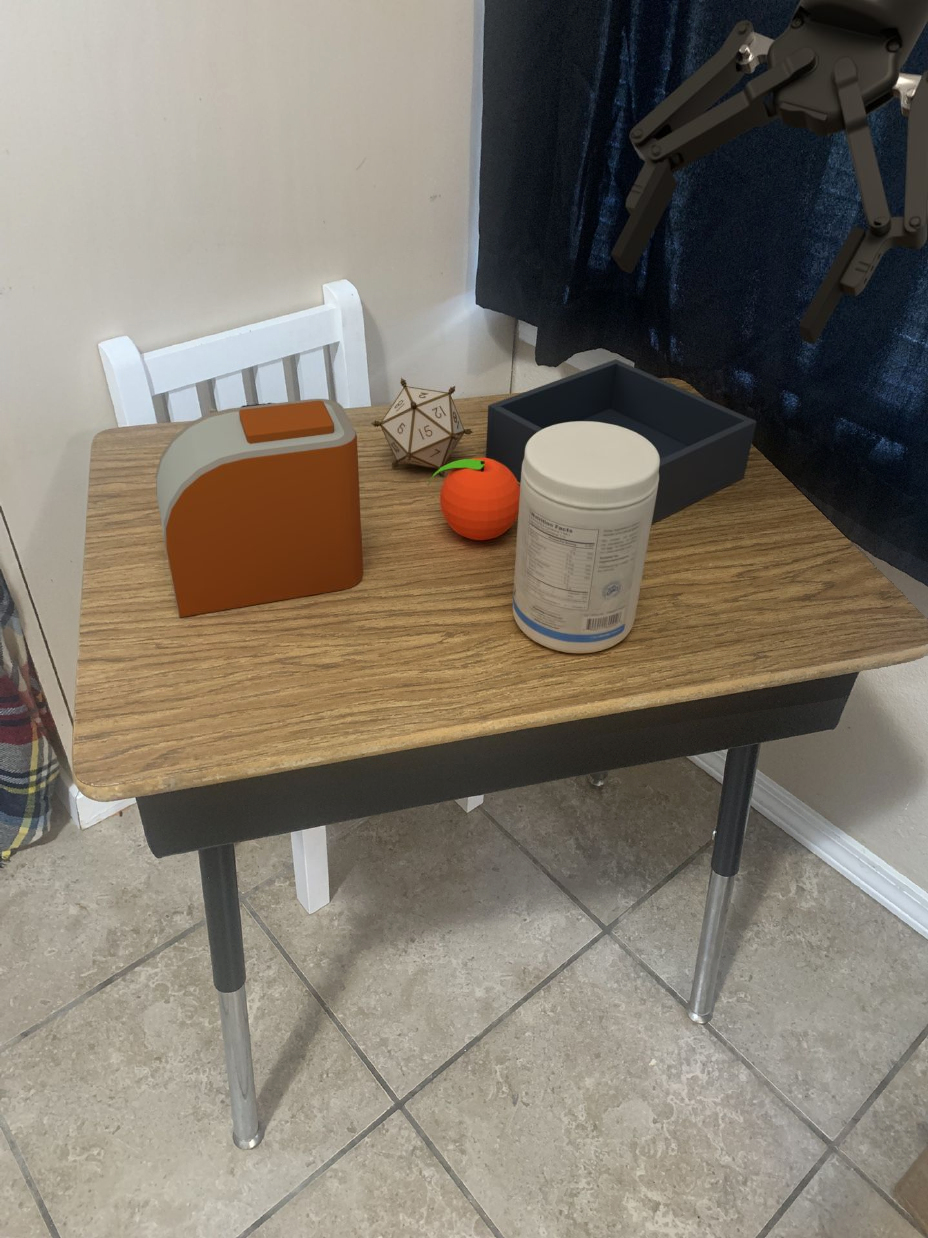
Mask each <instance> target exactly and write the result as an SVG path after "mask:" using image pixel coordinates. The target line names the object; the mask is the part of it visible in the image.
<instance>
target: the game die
mask: <svg viewBox="0 0 928 1238" xmlns="http://www.w3.org/2000/svg"><path fill="white" fill-rule="evenodd" d="M399 384H400V385H401V386H402V387H403V388H402V389H401V391H400V392H399V394H398V395H397V397H396V398H395V400H394V401H393V403H392V404H391V406H390V407H389V409H388V410H387V412H386V413H385V415H384V417H382V419H381V421H379V420H377V421H376V420H374V421H372V422H370V424H371V425H372V426H373V427H377V428H378V427H380V428H381V430H382V433H383V435H384V436H385V437H384V438H385V439H386V441H387V443H388V446H389V448H390V450H391V452H392V454H393V456H394V459H395V460H393V461H392V462H391V469H393V468H397V467H398V466H399V463H402V464H407V465H414V466H418V467H419V466H420V467H425V468H431V469H436V470H439V469H440V468H441V467H443V466H445V465H446V462H447V461H448V460H449V458H450V456H451V454H452V453H453V452H454V450H455V449H456V447H457V446H458V444H459V443H460V441H461V440H462V439H463V436H464V434H465V435H468V436H470V435H471V434H473V433H474V431H473V430H471V428H466V429H465V428H464V425H463V423H462V420H461V417H460V414H459V412H458V410H457V407H456V404H455V402H454V399H453V397H452V394H454V392H456V385H454V386H451V387H449V389H448V392H447V391H442V390H441V391H440V390H434V389H428V388H420V387H414V386H408V384H407V381H406V379H404V378H402V377H400V382H399ZM439 475H440V476H442V477H443V478H446V470H444V471H441V472H439Z"/></svg>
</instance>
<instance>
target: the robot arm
mask: <svg viewBox="0 0 928 1238" xmlns="http://www.w3.org/2000/svg"><path fill="white" fill-rule="evenodd" d="M927 23H928V0H800V1H799V2H798V4H797V7H796V9H795V10H794V13H793V15H792V18H791V20H790V23H789V25H788V27H787V28H786V29H785V30H784V32H783V33H781V34H780V35H779V36H778V37H777V38H775V39H772V38H770V37H768V36H765V35H762V34H761V33H758V32H755V31H754V25H753V24H752V22H751V21H750V20H748V19H744V20H740V21H739V22H737V23H736V24H735V25H734V26H733V28H732V30H731V31H730V33H729V35H728V36H727V37H726V39H725V41H724V42H723V44H722V46H721V47H720V48H719V50H718V51H717V52H716V53H715V54H713V56H711V57H710V58H709V59H708V60H707V61H706V62H704V64H702V65H701V66H700V67H699V68H697V70H696V71H695V72H693V74H691V75H690V76H689V77H688V78H687V79H685V81H684V82H682V83H681V84H680V85H679V86H678V87H677V88H676V89H674V90H673V91H672V92H671V93H670V94H668V96H667V97H666V98H664V100H662V101H661V102H660V103H659V104H658V105H657V106H656V107H654V108H653V109H652V110H651V111H650V112H648V114H647V115H646V116H645V117H644V118H642V119H641V120H640V121H639V122H638V123H637V124H636V125H634V126H633V128H632V129H631V130H630V132H629V134H628V135H629V137H628V139H629V140H630V142H631V144H632V147H633V148H634V150H635V151H636V154H637V155H638V157H639V159H640V160H642V161H644V163H643V166H642V168H641V169H640V171H639V173H638V176H637V177H636V179H635V180H634V183H633V185H632V187H631V189H630V191H629V193H628V195H627V197H626V199H625V208H626V210H627V211H628V213H629V217H628V219H627V221H626V223H625V225H624V227H623V229H622V231H621V232H620V235H619V236H618V238H617V241H616V242H615V245H614V246H613V248H612V251H611V253H610V256H611V257H612V259H613V260H614V261H615V263H616V264H617V265H618V267H619V268H620V270H621V271H622V272H625V273H628V274H629V275H630V274H631V275H632V273H633V272H634V270H635V267H636V266H637V264H638V262H639V261H640V258H641V256H642V254H643V252H644V250H645V249H646V247H647V245H648V243H649V241H650V239H651V237H652V236H653V233H654V231H655V229H656V227H657V226H658V223H660V219H662V216H663V214H664V212H665V210H666V208H667V206H668V205H669V203H670V200H671V198H672V196H673V194H674V193H675V191H676V189H677V187H678V185H679V184H678V183H677V180H676V178H675V176H674V174H675V173H677V172H678V171H680V170H682V169H684V168H685V167H687V166H688V165H690V164H692V163H695V162H696V161H697V160H699V159H701V158H703V157H704V156H706V155H708V154H710V153H711V152H713V151H715V150H717V149H718V148H720V147H721V146H724V145H725V144H727V143H729V142H730V141H732V140H735V139H736V138H738V137H739V136H741V135H743V134H745V133H747V132H748V131H750V130H751V129H753V128H755V127H759V128H762V127H764V126H766V125H767V126H768V124H770V123H772V122H774V121H775V120H777V119H779V120H780V121H782V124H783V126H786V127H790V128H793V129H808V130H809V131H810V132H812V133H814V134H815V135H817V136H821V137H824V138H827V139H828V138H829V136H831V135H834V134H839V133H841V132H843V131H844V133H845V137H846V142H847V147H848V150H849V154H850V158H851V162H852V167H853V171H854V175H855V179H856V183H857V188H858V191H859V196H860V199H861V200H860V201H861V204H862V208H863V212H864V213H863V214H864V217H865V222H866V226H867V230H866V229H864V228H861V227H858V226H855V225H853V226H852V227H851V229H850V231H849V233H848V235H847V237H846V239H845V240H844V242H843V244H842V246H841V247H840V248H839V250H838V252H837V255H836V257H835V258H834V260H833V262H832V264H831V266H830V267H829V269H828V271H827V272H826V275H825V276H824V278H823V280H822V282H821V284H820V285H819V287H818V289H817V291H816V293H815V294H814V296H813V298H812V299H811V301H810V304H809V305H808V307H807V309H806V311H805V312H804V314H803V316H802V318H801V320H800V322H799V323H798V325H797V327H798V330H799V332H800V335H801V338H802V341H803V342H806V343H808V344H811V345H813V346H815V345H816V343H817V341H818V339H819V338H820V336H821V334H822V332H823V331H824V330H825V329H824V328H825V327H826V325H827V323H828V322H829V320H830V318H831V316H832V314H833V312H834V311H835V309H836V307H837V305H838V304H839V302H840V300H841V298H842V297H843V295H844V294H847V295H850V296H853V297H858V295H860V294H861V293H862V292H863V291H864V290H865V287H866V286H867V284H868V282H869V281H870V279H871V277H872V275H873V273H874V272H875V270H876V268H877V266H878V264H879V263H880V261H881V260H882V257H883V256H884V255H885V253H886V252H887V251H889V250H890V249H892V248H894V247H895V248H896V247H907V248H908V249H910V250H919V249H921V248H922V247H924V246H925V244H926V243H927V241H928V69H926V70H925V71H923V74H922V75H921V74H913V73H907V72H902V68H903V66H904V65H905V63H906V61H907V60H908V58H909V56H910V54H911V53H912V51H913V48H914V47H915V45H916V43H917V41H918V39H919V38H920V36H921V34H922V32H923V30H924V28H925V26H926V24H927ZM763 63H767V70H766V71H764V72H763V73H761V74H759V75H757V76H756V77H754V78H752V79H750V80H749V81H748V82H747V83H746V84H745V85H744V87H743V89H742V90H740V91H739V92H738V93H736V94H734V95H733V96H731V97H729V98H728V99H726V100H724V101H722V102H721V103H719V104H717V105H715V104H716V103H717V102H718V101H720V99H722V97H724V96H725V95H726V94H727V93H728V92H729V91H730V90H732V89H733V88H734V86H735V85H737V83H738V82H739V81H740V80H741V79H742V78H743V76H744V75H745V74H747V75H750V74H753V73H754V72H755V68H756V67H758V66H759V65H760V64H763ZM769 95H771V98H769V99H767V100H765V101H764V99H765V98H766V97H767V96H769ZM894 98H897V99H898V100H899V101H900V111H901V114H902V116H904V117H906V118H907V139H906V160H905V161H906V163H905V164H906V166H905V189H904V213H903V214H904V215H903V216H902V215H901V216H892V215H891V213H890V209H889V206H888V201H887V196H886V193H885V188H884V184H883V181H882V176H881V172H880V168H879V163H878V159H877V156H876V151H875V147H874V142H873V139H872V135H871V131H870V127H869V121H868V116H869V115H871V114H872V113H874V112H875V111H877V110H879V109H880V108H882V107H883V106H885V105H887V104H888V103H890V102H891V101H892V100H893V99H894ZM713 105H715V106H714V107H712V106H713ZM711 107H712V108H711ZM710 108H711V109H710ZM708 109H709V110H708Z"/></svg>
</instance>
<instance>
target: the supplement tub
mask: <svg viewBox="0 0 928 1238" xmlns="http://www.w3.org/2000/svg"><path fill="white" fill-rule="evenodd" d="M659 464H660V458H659V454H658V452H657V450H656V448H655V447H654V446H653V445H652V443H651V442H649V441H648V440H647V439H646V438H644V437H643V436H641V435H639V434H638V433H636V432H633V431H631V430H629V429H626V428H623V427H620V426H617V425H612V424H607V423H601V422H591V421H576V422H566V423H560V424H556V425H552V426H550V427H547V428H544V429H542V430H540V431H539V432H537V433H536V434H534V435H533V436H532V437H531V438H530V439H529V441H528V442H527V444H526V447H525V455H524V460H523V463H522V472H521V482H520V484H519V486H520V499H519V514H518V517H517V532H516V546H515V560H514V561H515V562H514V575H513V589H512V591H513V592H512V614H513V619H514V620H515V624H517V627H518V628H519V629H520V630H521V631H522V632H523V634H525V635H526V637H528V638H529V639H531V640H532V641H534V642H535V643H537V644H538V645H542V646H543V647H545V648H548V649H550V650H554V651H558V652H563V653H569V654H590V653H596V652H600V651H604V650H607V649H609V648H612V647H614V646H615V645H617V644H619V643H620V642H621V641H623V640H624V639H625V638H626V637H627V636H629V634H630V632H631V630H632V629H633V626H634V624H635V621H636V616H637V615H636V614H637V610H638V604H639V598H640V593H641V587H642V583H643V582H642V581H643V575H644V570H645V563H646V558H647V552H648V546H649V541H650V534H651V528H652V525H653V524H652V518H653V513H654V507H655V501H656V495H657V489H658V482H659V473H658V472H659ZM651 524H652V525H651Z"/></svg>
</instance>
